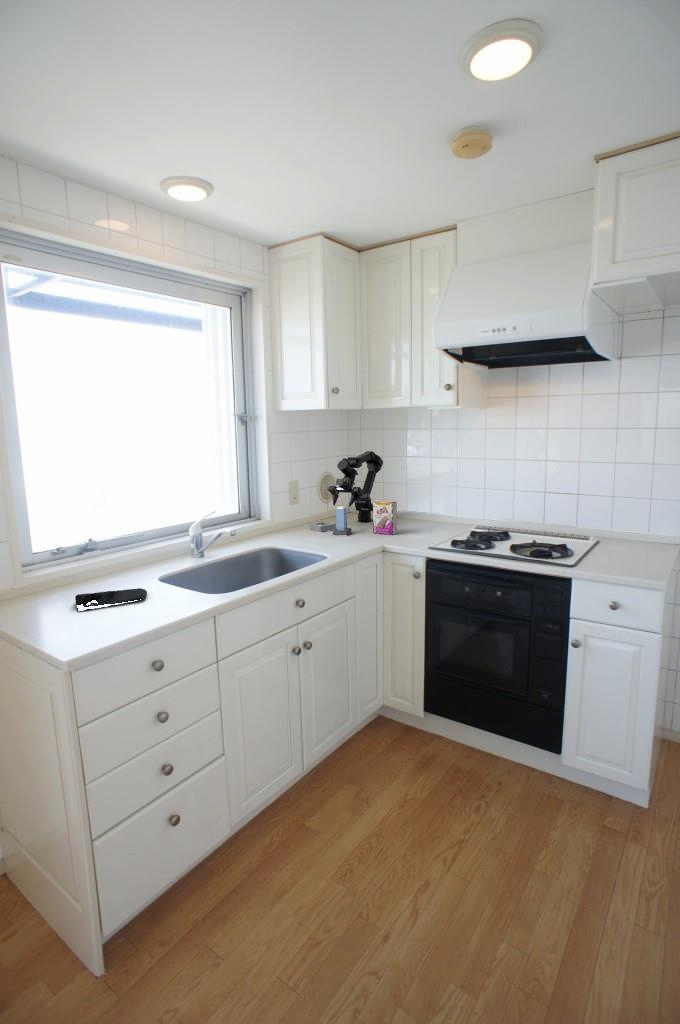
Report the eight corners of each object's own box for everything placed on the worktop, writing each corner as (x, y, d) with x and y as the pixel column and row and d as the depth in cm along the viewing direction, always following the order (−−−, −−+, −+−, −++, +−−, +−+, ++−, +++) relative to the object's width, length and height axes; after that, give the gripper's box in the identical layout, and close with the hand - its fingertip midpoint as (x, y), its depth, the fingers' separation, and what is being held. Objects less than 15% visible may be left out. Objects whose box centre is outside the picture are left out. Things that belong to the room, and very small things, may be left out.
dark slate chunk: (147, 604, 174) (145, 590, 173) (72, 614, 168) (70, 600, 167) (148, 591, 189) (146, 578, 188) (79, 599, 182) (78, 586, 181)
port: (324, 526, 287) (324, 520, 287) (336, 529, 279) (335, 522, 279) (309, 529, 281) (309, 523, 281) (320, 532, 273) (320, 525, 273)
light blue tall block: (340, 532, 271) (339, 506, 268) (347, 533, 269) (346, 506, 267) (337, 534, 267) (336, 507, 265) (344, 535, 265) (343, 507, 263)
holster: (338, 532, 273) (338, 527, 272) (351, 532, 270) (351, 528, 269) (332, 535, 266) (332, 530, 266) (346, 535, 263) (346, 530, 263)
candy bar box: (372, 533, 267) (372, 501, 264) (377, 531, 271) (376, 499, 268) (393, 535, 261) (392, 502, 258) (397, 533, 265) (397, 500, 262)
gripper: (327, 471, 278) (318, 498, 273) (358, 471, 268) (350, 499, 263) (336, 481, 287) (328, 507, 281) (367, 482, 277) (359, 509, 272)
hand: (341, 505), depth 274 cm, fingers open, 9 cm apart
